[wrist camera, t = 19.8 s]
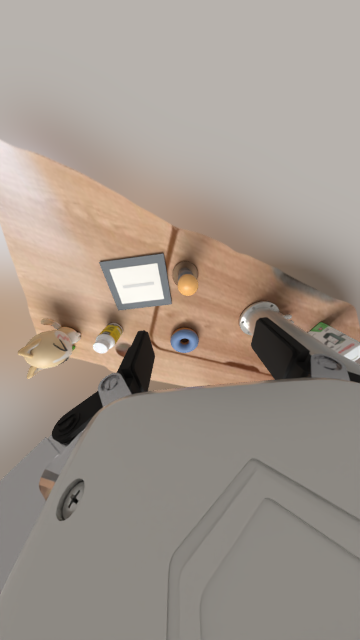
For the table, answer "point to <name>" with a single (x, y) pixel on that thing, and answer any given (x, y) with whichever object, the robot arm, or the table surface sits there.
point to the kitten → (49, 347)
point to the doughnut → (182, 334)
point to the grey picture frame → (138, 281)
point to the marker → (187, 282)
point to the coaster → (184, 265)
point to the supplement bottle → (107, 338)
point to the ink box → (336, 341)
